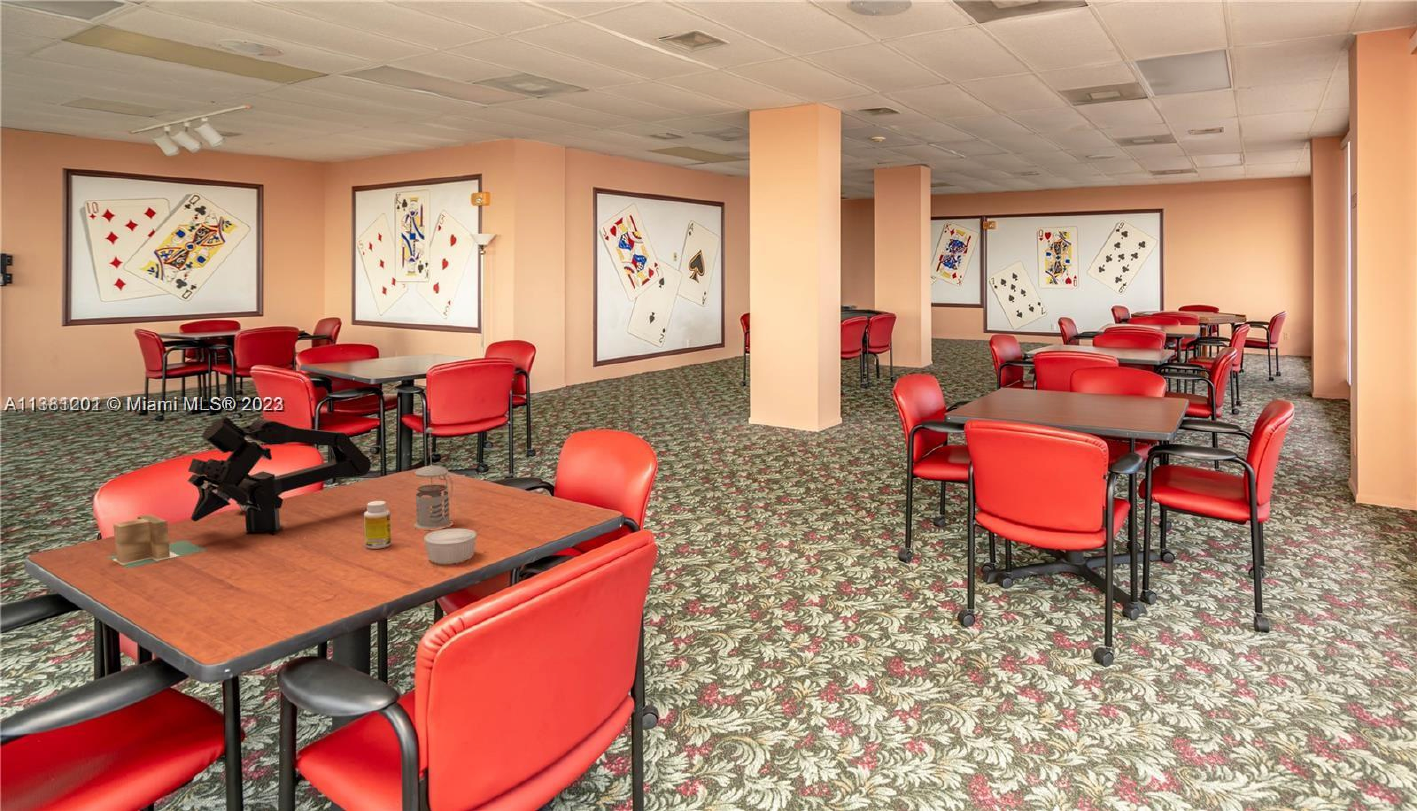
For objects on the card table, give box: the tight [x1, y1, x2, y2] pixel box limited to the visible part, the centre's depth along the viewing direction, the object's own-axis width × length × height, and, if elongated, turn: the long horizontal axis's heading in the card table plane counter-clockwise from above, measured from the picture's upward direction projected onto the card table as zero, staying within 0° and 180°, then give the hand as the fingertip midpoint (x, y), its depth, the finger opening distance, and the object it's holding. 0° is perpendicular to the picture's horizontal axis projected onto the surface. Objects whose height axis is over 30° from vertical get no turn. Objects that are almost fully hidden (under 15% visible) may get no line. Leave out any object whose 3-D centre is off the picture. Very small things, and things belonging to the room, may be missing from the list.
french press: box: [413, 427, 454, 529], centre depth 210 cm, size 10×12×25 cm
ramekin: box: [423, 528, 478, 565], centre depth 185 cm, size 11×11×5 cm
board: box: [107, 539, 207, 569], centre depth 185 cm, size 16×12×1 cm
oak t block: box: [113, 514, 170, 563], centre depth 182 cm, size 8×9×8 cm
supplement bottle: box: [363, 500, 392, 550], centre depth 193 cm, size 6×6×10 cm
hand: (193, 520), depth 191 cm, fingers closed
